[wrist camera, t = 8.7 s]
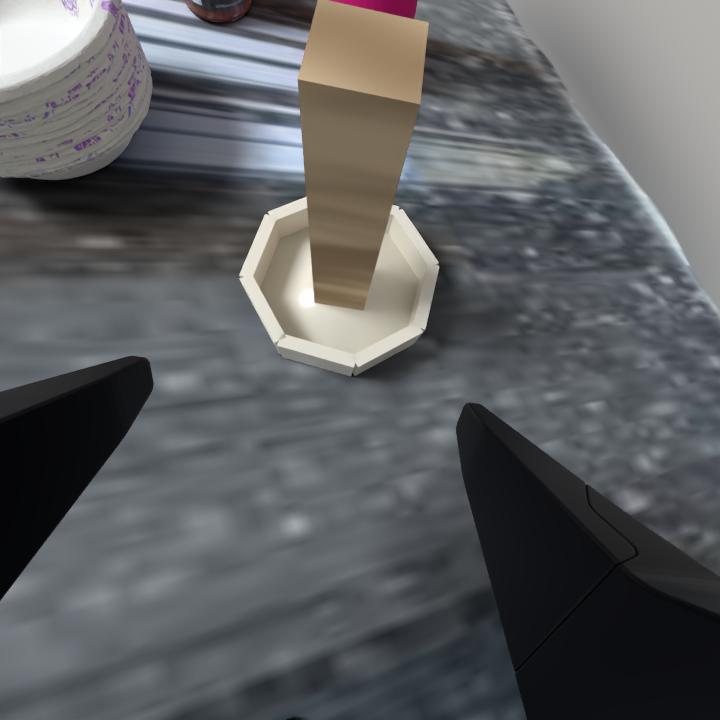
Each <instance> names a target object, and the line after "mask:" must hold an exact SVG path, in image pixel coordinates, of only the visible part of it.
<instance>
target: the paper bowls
mask: <svg viewBox="0 0 720 720" xmlns="http://www.w3.org/2000/svg"><path fill="white" fill-rule="evenodd" d="M152 89H153V85H152V77H151V71H150V68H149V65H148V63H147V60H146V58H145V55H144V52H143V50H142V47H141V45H140V42H139V40H138V38H137V36H136V34H135V31H134V29H133V27H132V24H131V22H130V19H129V17H128V14H127V12H126V11H125V9H124V6H123V4H122V1H121V0H0V177H4V178H6V177H15V178H34V179H42V180H62V179H70V178H75V177H79V176H84V175H87V174H90V173H93V172H95V171H97V170H99V169H101V168H103V167H105V166H107V165H108V164H110V163H111V162H112V161H113V160H115V159H116V158H117V157H118V156H119V155H120V154H121V153H122V152H123V151H124V150H125V148H126V147H127V146H128V144H129V142H130V141H131V139H132V137H133V134H134V132H136V131H137V130H138V128H139V126H140V125H141V123H142V121H143V119H144V118H145V116H146V115H147V113H148V110H149V106H150V100H151V95H152Z"/></svg>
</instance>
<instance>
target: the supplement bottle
mask: <svg viewBox="0 0 720 720" xmlns="http://www.w3.org/2000/svg"><path fill="white" fill-rule="evenodd" d="M184 1H185V3H186V4H187V6H188V8H189V9H190V10H191V11H192V12H193V13H195V14H196V15H197V16H199V17H201V18H203V19H205V20H208V21H212V22H222V23H223V22H231V21H235V20H237V19H238V18H240V17H241V16H243V15H244V14H245V13H246V12H247V11H248V9H249V7H250V5H251V0H184Z"/></svg>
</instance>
